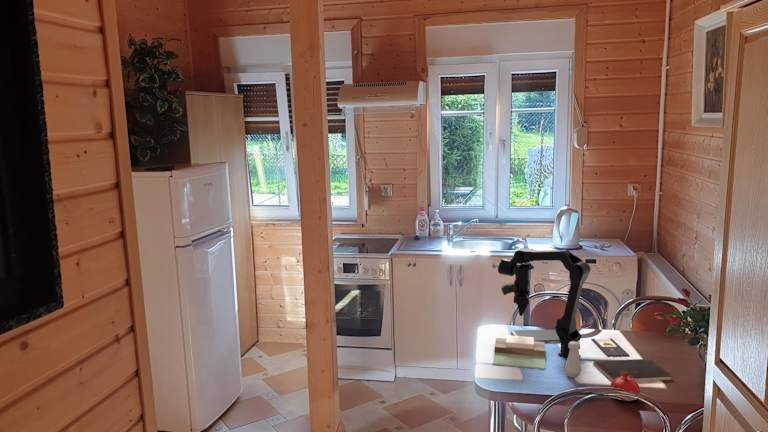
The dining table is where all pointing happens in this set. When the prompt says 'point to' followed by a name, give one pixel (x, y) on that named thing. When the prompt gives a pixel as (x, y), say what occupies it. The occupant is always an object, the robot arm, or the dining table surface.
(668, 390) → the dining table surface
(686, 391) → the dining table surface
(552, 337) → the smartphone
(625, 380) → the pomegranate
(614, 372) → the hardcover book
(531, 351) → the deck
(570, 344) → the salt shaker
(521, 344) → the pale pink slab
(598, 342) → the chocolate bar
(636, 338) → the dining table surface
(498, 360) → the mat
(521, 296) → the robot arm
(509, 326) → the dining table surface
